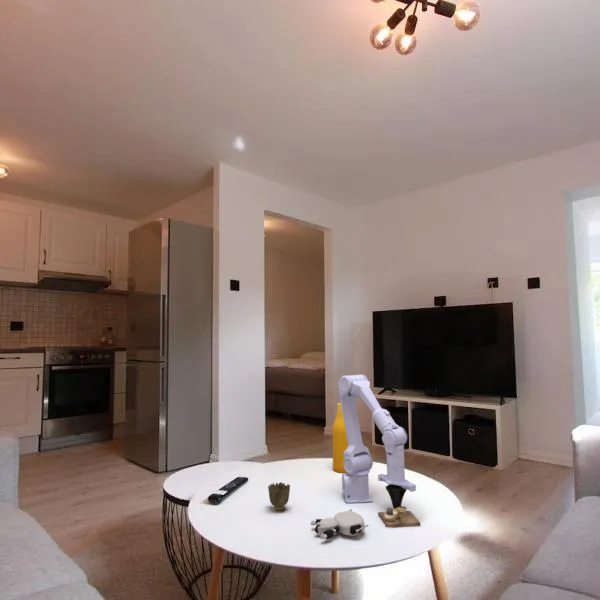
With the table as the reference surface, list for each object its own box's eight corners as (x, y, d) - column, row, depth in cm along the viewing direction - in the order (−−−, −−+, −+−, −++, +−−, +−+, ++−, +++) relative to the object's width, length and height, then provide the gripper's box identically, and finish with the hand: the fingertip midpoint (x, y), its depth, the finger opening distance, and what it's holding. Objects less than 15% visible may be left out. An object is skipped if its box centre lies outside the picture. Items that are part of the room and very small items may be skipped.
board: (386, 527, 129) (386, 512, 129) (378, 515, 138) (377, 501, 139) (420, 526, 130) (419, 511, 130) (409, 513, 139) (409, 499, 140)
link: (391, 522, 130) (391, 517, 130) (382, 519, 132) (382, 514, 132) (409, 513, 137) (409, 507, 137) (400, 510, 139) (400, 505, 139)
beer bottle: (339, 466, 194) (338, 401, 197) (357, 469, 189) (356, 403, 192) (328, 471, 187) (327, 404, 190) (347, 474, 182) (346, 405, 185)
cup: (294, 509, 144) (294, 485, 145) (279, 516, 139) (279, 490, 139) (279, 504, 149) (279, 480, 150) (263, 510, 144) (263, 485, 144)
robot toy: (322, 549, 118) (371, 538, 122) (321, 533, 118) (370, 521, 122) (309, 531, 129) (354, 521, 134) (308, 516, 130) (353, 506, 134)
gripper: (371, 462, 144) (372, 504, 143) (404, 473, 132) (406, 518, 131) (385, 459, 148) (386, 500, 147) (419, 468, 136) (421, 513, 135)
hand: (397, 508), depth 139 cm, fingers closed
